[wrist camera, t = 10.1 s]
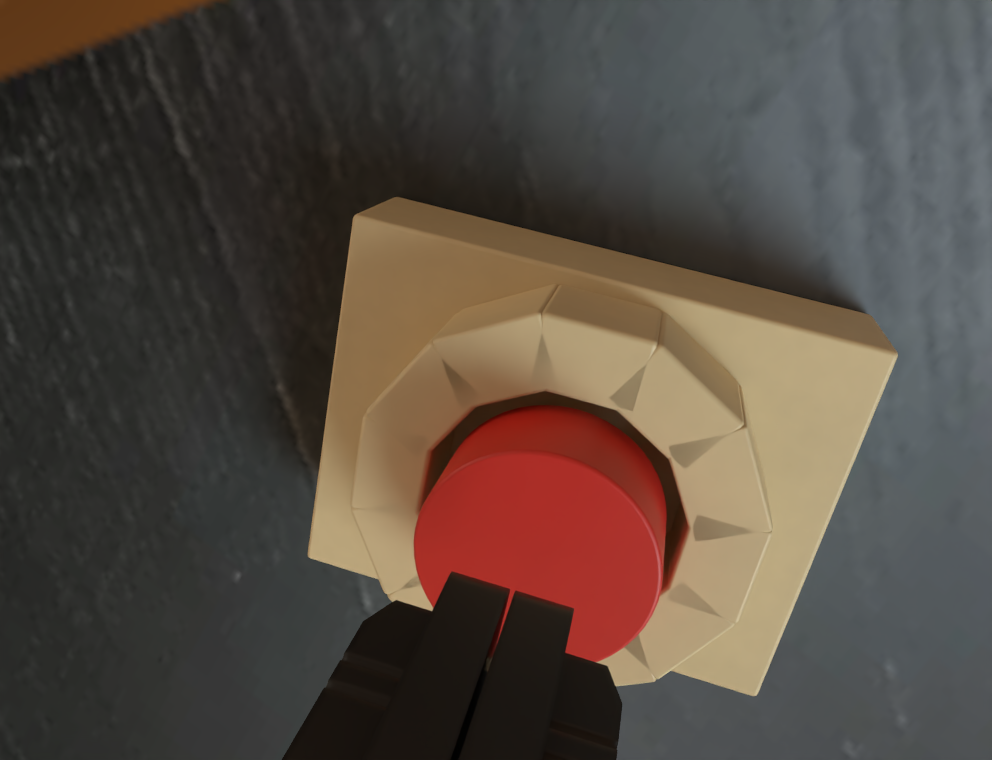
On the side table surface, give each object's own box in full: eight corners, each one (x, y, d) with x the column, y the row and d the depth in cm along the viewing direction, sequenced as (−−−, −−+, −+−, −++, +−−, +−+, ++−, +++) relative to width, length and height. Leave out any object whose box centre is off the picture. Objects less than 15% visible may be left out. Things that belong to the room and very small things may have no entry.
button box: (873, 314, 15) (931, 394, 11) (749, 627, 18) (764, 773, 14) (395, 195, 16) (306, 233, 12) (347, 505, 19) (263, 611, 15)
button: (695, 439, 13) (694, 493, 11) (632, 629, 14) (625, 702, 12) (466, 376, 13) (434, 420, 12) (427, 566, 14) (395, 629, 13)
